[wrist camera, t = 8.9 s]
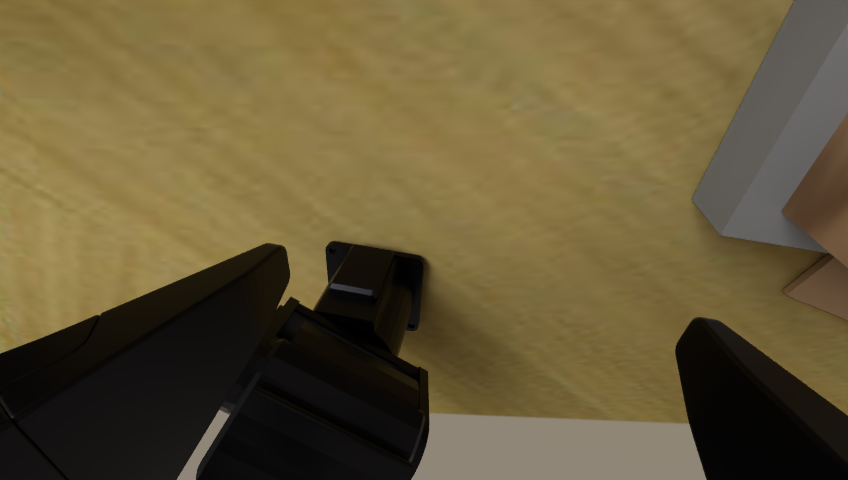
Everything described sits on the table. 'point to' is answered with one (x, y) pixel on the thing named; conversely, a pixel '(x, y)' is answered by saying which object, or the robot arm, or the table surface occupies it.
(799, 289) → the walnut swatch
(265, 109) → the table surface
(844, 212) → the walnut cube
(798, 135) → the base block
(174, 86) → the table surface
